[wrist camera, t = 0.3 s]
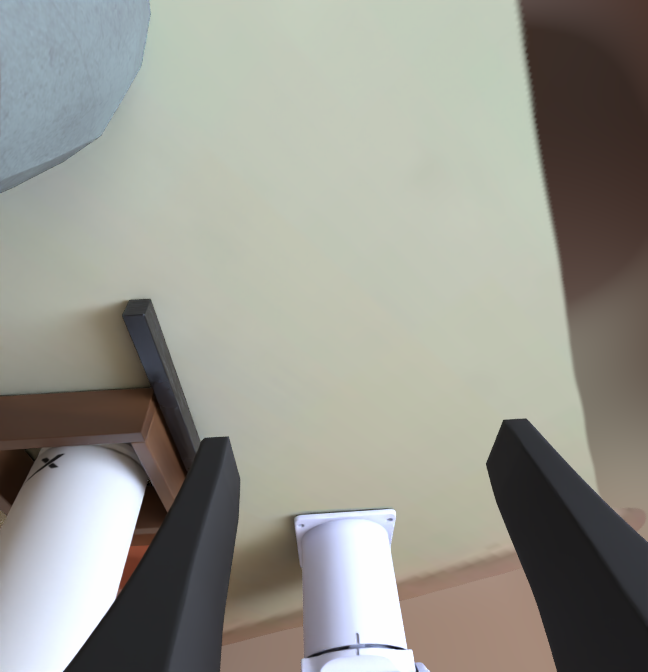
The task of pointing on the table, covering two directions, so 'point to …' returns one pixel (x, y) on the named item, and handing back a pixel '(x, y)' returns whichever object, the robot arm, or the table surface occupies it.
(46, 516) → the travel mug
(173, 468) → the carrier
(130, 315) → the rails
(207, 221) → the table surface
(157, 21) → the table surface
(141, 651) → the robot arm
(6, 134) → the bottle
